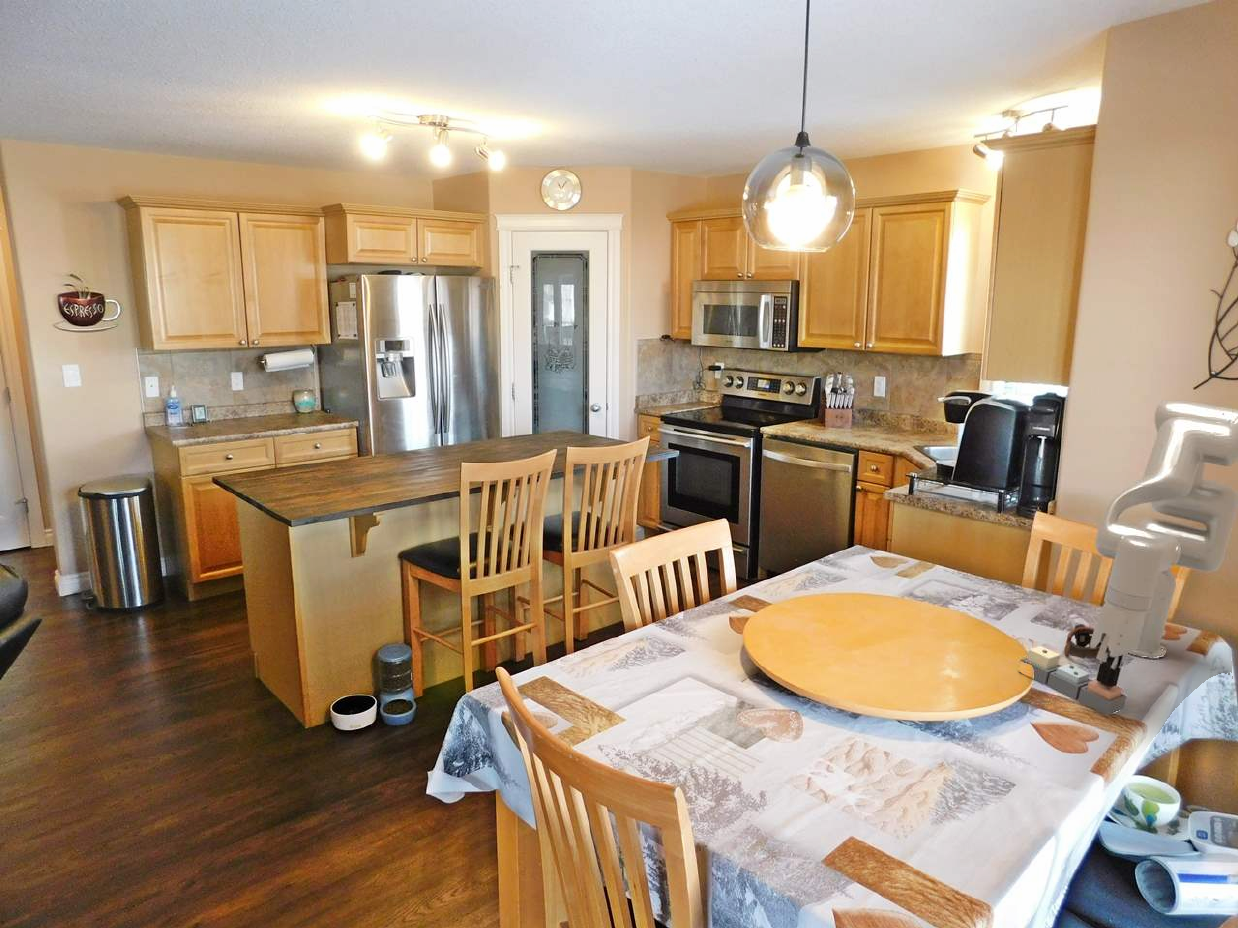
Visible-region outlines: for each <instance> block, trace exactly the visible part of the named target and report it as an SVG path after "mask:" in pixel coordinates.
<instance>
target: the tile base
mask: <svg viewBox="0 0 1238 928" xmlns="http://www.w3.org/2000/svg"><path fill="white" fill-rule="evenodd" d="M1087 687H1088V685H1087V686H1085V687H1082V688H1081V690H1080V694H1079V698H1078V699H1077V702H1079V703H1080V704H1083V705H1084V706H1087V707H1089V708H1091V709H1092V710H1094V711H1096V712H1099V713H1100V714H1103V715H1105V714H1106V715H1105V716H1107V715H1109V716H1111V715H1110V714H1112V713H1114V712H1116V711H1119V710H1121V709H1123V708H1124V709H1125V705H1126V701H1127V697H1128V696H1127V695H1126V694H1124V693H1121V696H1120V697H1118V698H1115V699H1113V700H1108V699H1106V698H1104V697H1101V696H1099V695H1097V694H1095V693H1093V692H1091V691H1089V690H1087ZM1124 709H1123V710H1124ZM1121 711H1122V710H1121ZM1119 712H1120V711H1119ZM1116 713H1117V712H1116ZM1114 714H1115V713H1114ZM1112 715H1113V714H1112Z"/></svg>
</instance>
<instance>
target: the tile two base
mask: <svg viewBox="0 0 1238 928" xmlns="http://www.w3.org/2000/svg"><path fill="white" fill-rule="evenodd" d="M1056 672H1057V671H1055V672H1052V673H1050V675H1049V680H1048V684H1046V686H1047V687H1048V688H1050V689H1052V690H1054V691H1056V692H1057V693H1058V692H1059V693H1060V694H1062V695H1064V696H1066V697H1068V698H1070V699H1072V700H1074V701H1076V700H1078V698H1079V694H1080V690H1081V688H1082V687H1085V686H1087V685H1088V683H1089V682H1091V681H1094V679H1091V678H1089V679H1088V681H1087V682H1084V683H1082V684H1079V685H1076V684H1074V683H1072V682H1070V681H1068V680H1066V679H1064V678H1062V677H1060V676H1058V675H1056Z"/></svg>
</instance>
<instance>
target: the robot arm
mask: <svg viewBox="0 0 1238 928" xmlns="http://www.w3.org/2000/svg"><path fill="white" fill-rule="evenodd" d="M1154 425H1155V430H1156V432H1157V434H1156V435H1157V436H1156V437H1155V438H1156V439H1155V440H1154V445H1153V446H1152V449H1151V453H1150V456H1149V458H1148V462H1147V465H1146V468H1145V470H1144V474H1143V477H1142V478H1141V479H1140V480H1139V481H1137V482H1135V483H1133V484H1130V485H1129V486H1127V487H1126V488H1124V489H1123V490H1121V491H1120V492H1118V494H1116V495H1115V496H1114V497H1113V498H1112V500H1110V502H1109V503H1108V505H1107V507H1106V508H1105V511H1104V512H1103V516H1102V519H1101V522H1100V525H1099V527H1098V530H1097V533H1096V537H1095V544H1094V545H1095V548H1096V551H1097V553H1098V554H1099V555H1101V556H1103V557H1104V558H1109V559H1113V563H1112V566H1111V567H1112V568H1111V572H1110V575H1109V579H1108V584H1107V588H1106V591H1105V595H1104V599H1103V601H1104V602H1105V603H1103V606H1102V608H1101V610H1100V612H1099V615H1098V617H1097V620H1096V623H1095V626H1094V632H1093V634H1091V636H1092V639H1091V642H1090V648H1091V649H1097V648H1100V649H1099V652H1098V654H1097V657H1095V658H1096V660H1097V661H1099V667H1098V671H1097V675H1096V679H1095V680H1097V681H1098V682H1100V683H1102V684H1105V685H1107V686H1109V687H1113V686H1118V682H1119V678H1120V673H1121V671H1122V667H1123V665H1124V662H1125V660H1126V657H1127V655H1132V654H1133V655H1132V656H1135V655H1138V656H1137V657H1139V656H1147V657H1157V656H1162V655H1164V654H1165V653H1166V654H1167V650H1166V647H1164V645H1162V644H1161V642H1162V637H1163V636H1165V635H1166V634H1167V631H1166V629H1165V626H1166V622H1167V619H1168V616H1169V613H1170V608H1171V605H1172V601H1173V598H1174V594H1175V590H1176V586H1177V580H1176V577H1175V575H1174V573H1173V571H1172V569H1171V568H1172V567H1173V566H1178V567H1182V568H1185V569H1190V570H1192V571H1193V570H1194V571H1198V572H1202V573H1208V574H1209V573H1215V572H1216V571H1218V570H1219V569H1220V568H1221V566H1222V565H1223V563H1224V559H1225V556H1226V554H1227V550H1228V545H1229V542H1230V537H1231V535H1232V531H1233V527H1234V524H1235V521H1236V516H1237V512H1238V491H1237V490H1236V488H1234V487H1233V486H1231V485H1229V484H1226V483H1221V482H1216V481H1211V480H1207V479H1204V472H1205V468H1206V465H1207V463H1208V464H1212V465H1219V466H1224V467H1231V466H1234V465H1235V464H1236V463H1238V409H1237V408H1231V407H1225V406H1217V405H1211V404H1206V403H1199V402H1192V401H1186V400H1185V401H1183V400H1166V401H1162V402H1160V403H1159V404H1158V405H1157V407H1156V408H1155V411H1154ZM1148 503H1150V505H1151V507H1152V509H1153V510H1154V511H1155V512H1157V513H1160V514H1162V515H1166V516H1169V517H1173V518H1177V519H1178V518H1179V519H1183V520H1187V521H1192V522H1195V523H1201V524H1203V525H1204V526H1205V528H1203V527H1198V526H1193V525H1189V524H1185V523H1181V522H1178V521H1177V522H1176V521H1173V520H1167V519H1163V518H1155V517H1154V518H1153V517H1151V518H1150V517H1149V518H1145V519H1143V520H1141V521H1139V522H1138V524H1136V525H1131V524H1128V523H1123V522H1120V521H1119V520H1120V519H1121V516H1123V514H1124V513H1125V512H1126V511H1127V510H1129V509H1132V508H1134V507H1135V506H1140V505H1143V504H1148ZM1162 649H1163V650H1162ZM1128 653H1129V654H1128Z"/></svg>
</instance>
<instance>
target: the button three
mask: <svg viewBox="0 0 1238 928" xmlns="http://www.w3.org/2000/svg"><path fill="white" fill-rule="evenodd" d="M1093 680H1094V679H1093ZM1087 690H1089V691H1091V692H1093V693H1095V694H1097V695H1099V696H1101V697H1104V698H1106V699H1108V700H1113V699H1115V698H1118V697H1120V696H1121V694H1122V693H1123V687H1120V686H1118V685H1116V686H1113V687H1109V686H1107V685H1105V684H1102V683H1100V682H1098V681H1097V680H1096V679H1095V680H1094V681H1091V682H1089V683H1088V687H1087Z"/></svg>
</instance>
